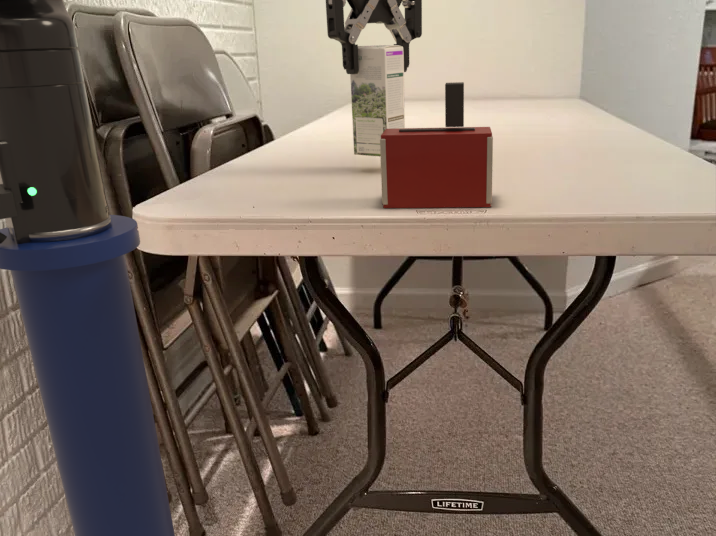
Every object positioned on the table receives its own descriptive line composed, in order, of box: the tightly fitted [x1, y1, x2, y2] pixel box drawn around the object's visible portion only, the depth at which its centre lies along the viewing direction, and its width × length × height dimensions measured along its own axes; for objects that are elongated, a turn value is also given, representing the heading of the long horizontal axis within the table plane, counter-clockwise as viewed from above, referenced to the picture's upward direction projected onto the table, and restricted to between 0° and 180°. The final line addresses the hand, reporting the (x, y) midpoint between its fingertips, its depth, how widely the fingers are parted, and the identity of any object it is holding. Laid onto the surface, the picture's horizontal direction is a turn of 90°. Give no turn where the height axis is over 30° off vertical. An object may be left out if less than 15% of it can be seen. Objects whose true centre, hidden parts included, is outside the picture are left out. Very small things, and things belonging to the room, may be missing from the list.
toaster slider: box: [444, 81, 465, 128], centre depth 79 cm, size 2×2×4 cm
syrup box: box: [349, 44, 406, 157], centre depth 100 cm, size 6×6×14 cm
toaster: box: [379, 126, 494, 209], centre depth 81 cm, size 12×6×8 cm, turn 86°
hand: (377, 72), depth 99 cm, fingers closed on syrup box, 7 cm apart
